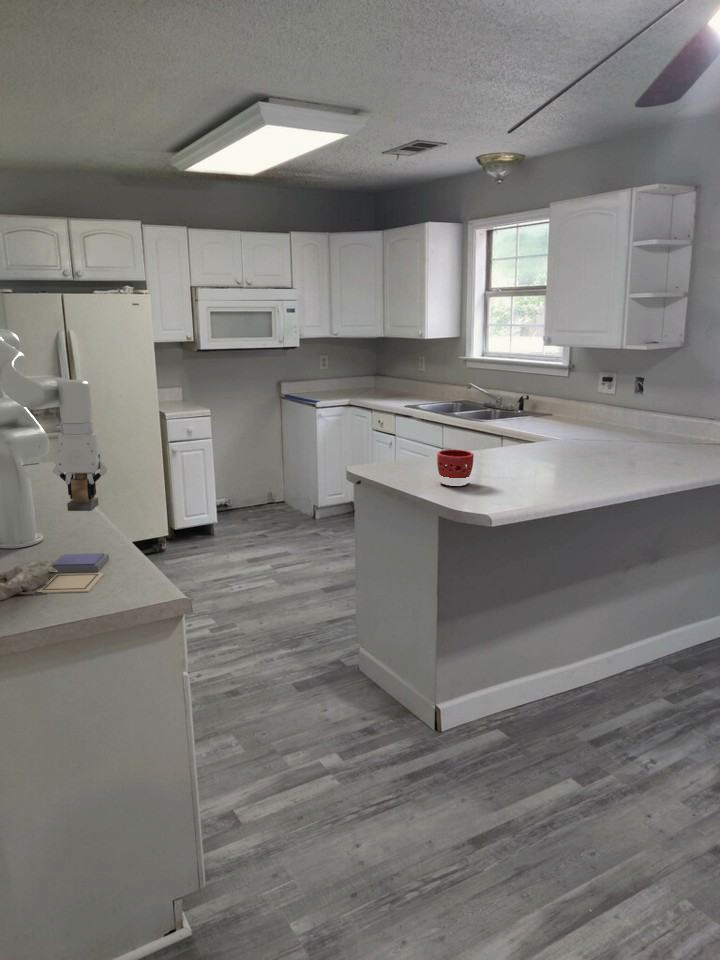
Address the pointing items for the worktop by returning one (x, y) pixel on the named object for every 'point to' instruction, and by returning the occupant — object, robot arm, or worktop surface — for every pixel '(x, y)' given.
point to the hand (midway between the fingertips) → (82, 497)
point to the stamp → (81, 495)
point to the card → (72, 582)
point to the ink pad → (80, 562)
